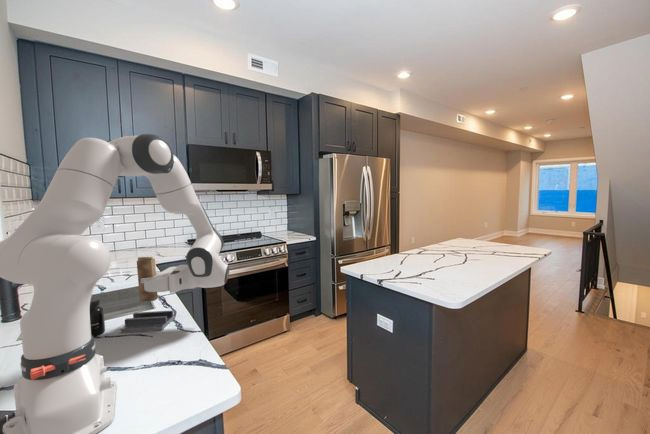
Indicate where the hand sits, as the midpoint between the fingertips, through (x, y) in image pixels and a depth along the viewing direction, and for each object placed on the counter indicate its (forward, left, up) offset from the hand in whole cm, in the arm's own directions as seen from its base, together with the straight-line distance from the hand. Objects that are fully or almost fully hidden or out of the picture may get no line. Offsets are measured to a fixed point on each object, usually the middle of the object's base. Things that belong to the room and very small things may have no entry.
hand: (144, 278), depth 105 cm
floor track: (-1, -1, -17) cm, 17 cm away
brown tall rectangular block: (-1, -1, -8) cm, 8 cm away
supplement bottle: (+5, +15, -17) cm, 24 cm away
